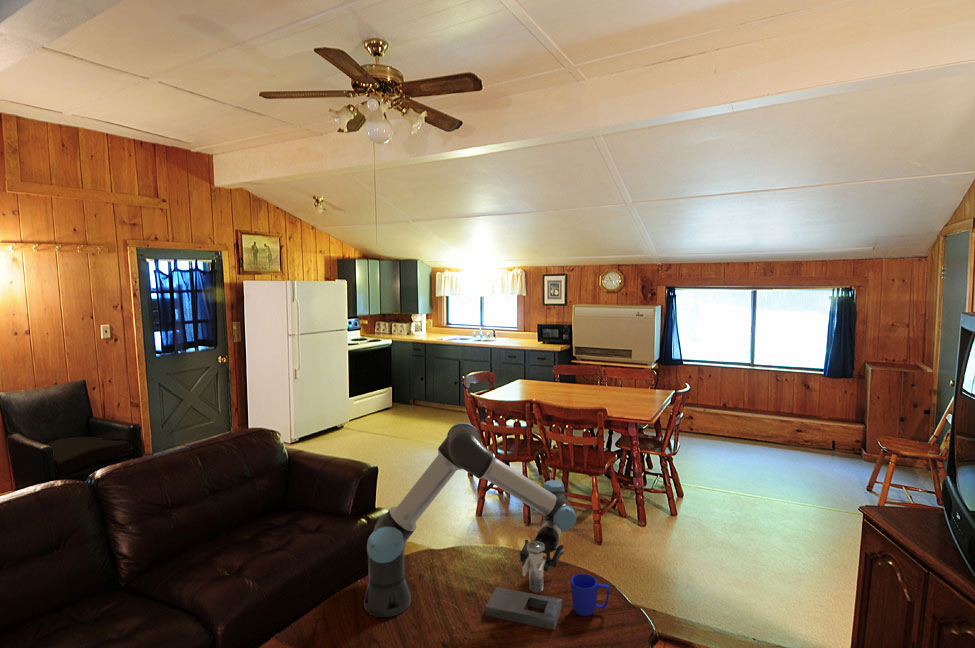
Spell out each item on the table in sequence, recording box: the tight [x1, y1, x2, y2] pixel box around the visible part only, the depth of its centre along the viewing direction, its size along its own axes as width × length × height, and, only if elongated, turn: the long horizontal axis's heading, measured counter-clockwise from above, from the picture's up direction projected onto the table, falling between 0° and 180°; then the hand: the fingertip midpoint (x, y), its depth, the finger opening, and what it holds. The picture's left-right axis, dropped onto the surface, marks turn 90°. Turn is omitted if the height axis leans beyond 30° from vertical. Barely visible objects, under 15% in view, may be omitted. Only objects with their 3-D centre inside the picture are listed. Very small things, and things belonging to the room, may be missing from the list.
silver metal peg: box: [527, 540, 545, 593], centre depth 159 cm, size 6×6×14 cm
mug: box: [570, 573, 610, 617], centre depth 161 cm, size 8×12×10 cm
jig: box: [485, 586, 562, 631], centre depth 161 cm, size 22×11×3 cm, turn 71°
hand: (531, 573), depth 154 cm, fingers closed on silver metal peg, 4 cm apart
